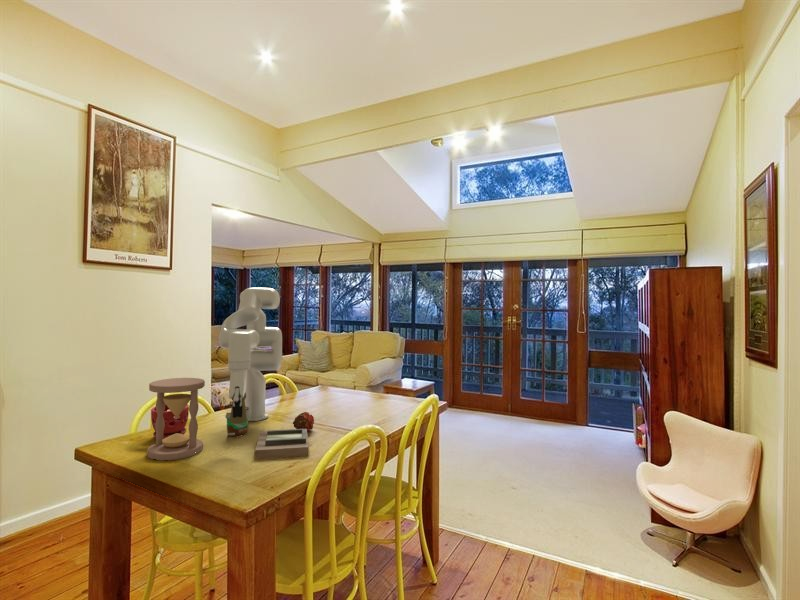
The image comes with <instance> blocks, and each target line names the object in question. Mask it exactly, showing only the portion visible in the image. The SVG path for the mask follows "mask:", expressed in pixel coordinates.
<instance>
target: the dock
mask: <svg viewBox="0 0 800 600" xmlns="http://www.w3.org/2000/svg"><path fill="white" fill-rule="evenodd" d="M308 439H309V437H308V430H307V429H296V428H294V429H293V428H292V429H290V428H289V429H276V430H275V429H273V430H263V431H262V430H260V431H259V435H258V438H257V442H256V446H255V451H254V460H259V459H262V460H264V459H275V458H276V459H277V458H290V457H291V456H293V457H305V456H304V455H307V456H309V453H310V452H309V451H310V450H309V440H308ZM291 458H292V457H291Z"/></svg>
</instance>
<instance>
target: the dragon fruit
mask: <svg viewBox="0 0 800 600" xmlns="http://www.w3.org/2000/svg"><path fill="white" fill-rule="evenodd" d="M292 424H293V428H294V429H307V431H310V430H311V431H312V430H313V429H314V424H315V419H314V416H313V415H312V414H310V413H309V412H308V411H303V412H301V413H299V414H298V415H297V416H296V417H294V420H293V421H292Z"/></svg>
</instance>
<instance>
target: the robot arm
mask: <svg viewBox="0 0 800 600" xmlns="http://www.w3.org/2000/svg"><path fill="white" fill-rule="evenodd" d="M280 298H281V297H280V293H279V291H278V290H276V289H274V288H271V287H248V288H245V289H244V290H243V291H242V292H240V294H239V301H240V302H239V305H238V310H237V311H235V312H233V313H232V314H231V315H229V316H228V317H226V318H225V319H224V320H223V322H222V324H221V329H220V332H219V337H218V344H219V346H220V347H221V348H223V349H225V350H228V356H227V357H228V358H227V359H228V360H227V361H228V363H227V366H228V367H227V368H228V369H227V370H228V371H230V377H229V394H228V398H229V399H230V400H232V399H231V398H232V397H233V396H234V401H233V400H232V402H233V418H236V417H242V408H243V406H242V398H243V397H244V394H245V393H246V399H245V406H247V407H249V409H250V412H251V413H250V414H249V418H248V422H259V421H264V420H265V419H268V418H269V414H268V412H266V384H267V383H266V382H267V381H266V378H265V375H263V373H262V372H263V371H265V372H266V371H278V370H280V369H281V367H282V363H283V332H282V330H281V329H280V328H279V327H278V326H277V327H276V326H275V327H274V326H267V316H266V313H265V312H264V311H263V310H276V309H278V308H279V306H280V301H281V299H280ZM262 309H263V310H262ZM245 326H246V329H244V328H241V327H245ZM255 348H271V349H266V350H265V349H255ZM261 371H262V372H261ZM240 394H241V395H240ZM239 396H241V398H239ZM239 399H240V400H239Z"/></svg>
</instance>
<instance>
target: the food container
mask: <svg viewBox="0 0 800 600" xmlns="http://www.w3.org/2000/svg"><path fill="white" fill-rule="evenodd" d="M245 407H246V416H247V421H246V422H244V423H240V424H232V423H230V422H229V421H230V415H231V412H226V413H225V419H226V434H227V435H226V437H227V438H237V436H238V437H242V436H245V435H247V434H248V427H249V426H248V425H249V421H248V418H249V414H250V413H251V412H250V409H249V407H247V406H245ZM244 434H245V435H244ZM241 435H242V436H241Z"/></svg>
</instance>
